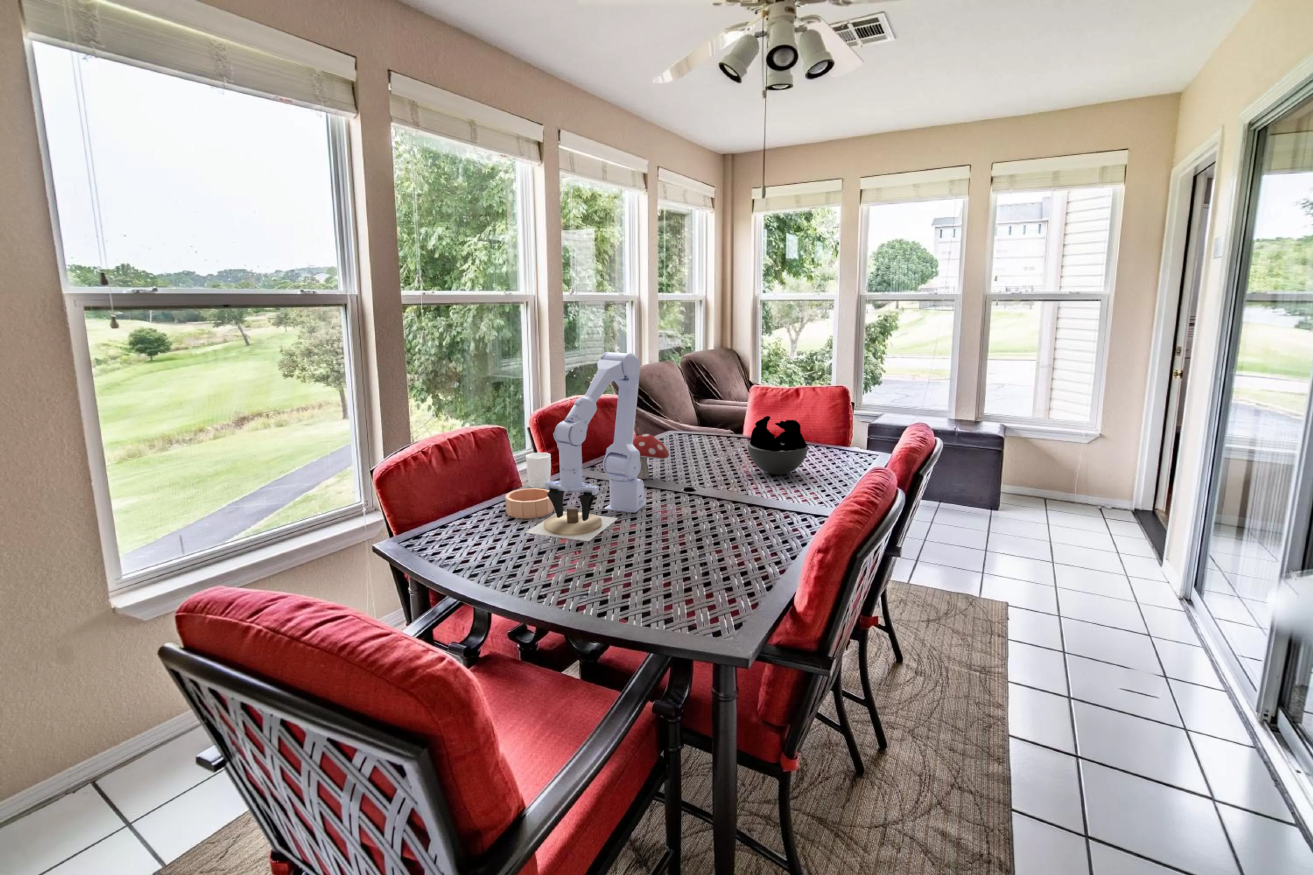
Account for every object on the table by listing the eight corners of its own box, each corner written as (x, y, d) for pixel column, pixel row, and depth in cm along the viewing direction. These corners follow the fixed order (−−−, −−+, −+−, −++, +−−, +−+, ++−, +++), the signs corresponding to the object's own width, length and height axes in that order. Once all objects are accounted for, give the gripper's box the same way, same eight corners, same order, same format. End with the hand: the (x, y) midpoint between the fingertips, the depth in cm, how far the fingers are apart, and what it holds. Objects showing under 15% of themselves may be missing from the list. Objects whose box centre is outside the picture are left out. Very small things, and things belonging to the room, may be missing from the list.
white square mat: (618, 519, 176) (618, 518, 176) (588, 542, 160) (588, 541, 160) (559, 512, 182) (559, 511, 182) (524, 534, 166) (524, 532, 166)
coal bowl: (812, 481, 211) (815, 424, 207) (750, 481, 212) (752, 424, 208) (800, 466, 231) (802, 413, 227) (743, 466, 231) (744, 414, 227)
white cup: (556, 483, 211) (555, 453, 209) (542, 490, 204) (541, 459, 202) (536, 481, 214) (535, 451, 212) (522, 487, 207) (520, 456, 205)
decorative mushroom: (640, 469, 227) (640, 427, 224) (678, 476, 218) (678, 432, 215) (611, 480, 215) (610, 435, 212) (650, 487, 206) (650, 441, 202)
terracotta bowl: (562, 507, 187) (561, 490, 186) (538, 521, 175) (538, 504, 174) (522, 502, 191) (521, 486, 190) (497, 516, 179) (496, 499, 178)
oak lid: (610, 519, 175) (610, 503, 174) (586, 538, 161) (585, 520, 161) (561, 513, 180) (560, 497, 179) (533, 531, 166) (532, 514, 166)
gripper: (538, 469, 166) (540, 519, 169) (589, 474, 161) (591, 526, 164) (551, 462, 173) (553, 511, 176) (601, 467, 168) (602, 517, 171)
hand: (572, 518), depth 170 cm, fingers open, 7 cm apart
